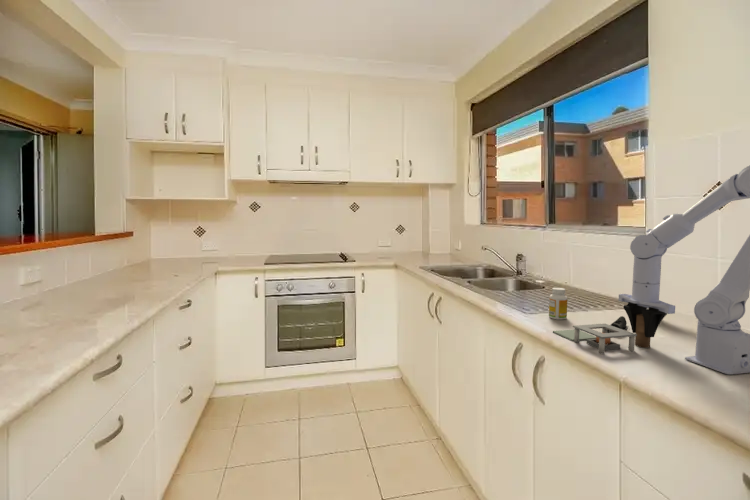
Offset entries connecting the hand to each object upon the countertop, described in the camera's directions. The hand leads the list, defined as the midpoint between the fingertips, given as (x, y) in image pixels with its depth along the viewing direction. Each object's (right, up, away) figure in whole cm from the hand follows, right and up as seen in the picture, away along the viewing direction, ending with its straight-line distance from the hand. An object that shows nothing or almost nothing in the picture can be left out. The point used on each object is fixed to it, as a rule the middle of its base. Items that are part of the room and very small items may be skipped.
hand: (643, 334), depth 100 cm
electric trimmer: (+2, -2, +14) cm, 15 cm away
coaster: (-13, -2, +9) cm, 16 cm away
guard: (-10, -3, 0) cm, 11 cm away
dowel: (0, -3, 0) cm, 3 cm away
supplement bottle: (-9, -1, +28) cm, 29 cm away
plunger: (-10, -3, 0) cm, 11 cm away
